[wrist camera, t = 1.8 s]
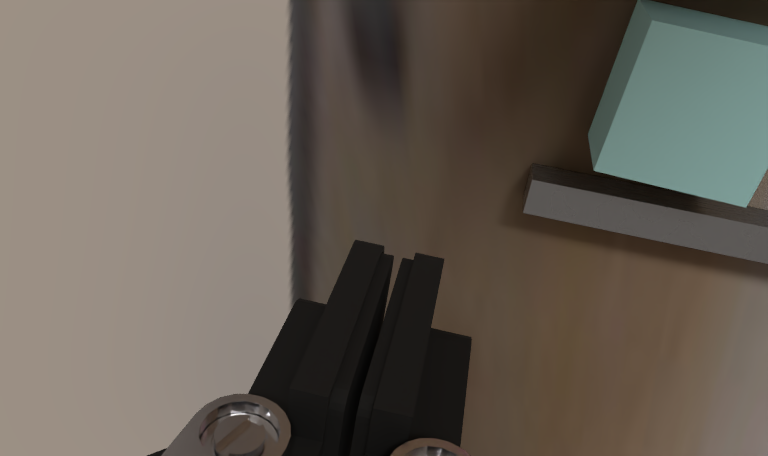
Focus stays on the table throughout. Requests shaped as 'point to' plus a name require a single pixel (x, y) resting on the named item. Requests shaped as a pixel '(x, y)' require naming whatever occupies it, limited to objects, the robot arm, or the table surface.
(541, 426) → the table surface
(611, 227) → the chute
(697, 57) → the block
